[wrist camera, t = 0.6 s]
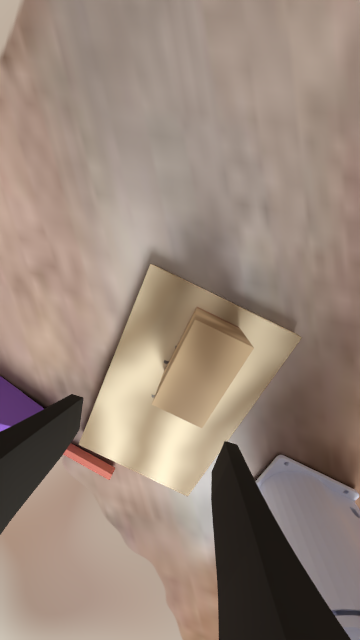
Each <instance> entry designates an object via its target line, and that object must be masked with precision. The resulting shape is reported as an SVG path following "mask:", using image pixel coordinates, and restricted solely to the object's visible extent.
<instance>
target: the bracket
mask: <svg viewBox="0 0 360 640" xmlns="http://www.w3.org/2000/svg"><path fill="white" fill-rule="evenodd" d="M43 409H44V408H42V407H41V406H40V405H38V404H37V403H36V402H34V401H33V400H32V399H30V398H29V397H28V396H26V395H25V394H24V393H22V392H21V391H20V390H18V389H17V388H16V387H14V386H13V385H12V384H10V383H9V382H8V381H6V380H5V379H4V378H2V377H1V376H0V432H1V431H3V430H5V429H7V428H9V427H11V426H13V425H15V424H17V423H19V422H21V421H23V420H24V419H26V418H28V417H30V416H32V415H34V414H36V413H38V412H40V411H42V410H43Z"/></svg>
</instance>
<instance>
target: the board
mask: <svg viewBox="0 0 360 640" xmlns="http://www.w3.org/2000/svg"><path fill="white" fill-rule="evenodd" d="M196 307H199V308H201V309H203V310H205V311H207V312H209V313H211V314H213V315H215V316H217V317H219V318H221V319H224V320H226V321H228V322H230V323H232V324H234V325H236V326H238V327H239V328H240V329H241V330H242V332H243V333H244V335H245V336H246V337H247V339H248V340H249V342H250V343H251V344H252V346H253V347H254V349H253V350H252V352H251V353H250V355H249V357H248V358H247V360H246V361H245V363H244V364H243V366H242V367H241V369H240V370H239V372H238V374H237V375H236V377H235V378H234V380H233V381H232V383H231V384H230V386H229V388H228V389H227V391H226V392H225V394H224V395H223V397H222V398H221V400H220V401H219V403H218V405H217V406H216V408H215V409H214V411H213V412H212V414H211V415H210V417H209V419H208V420H207V422H206V423H205V425H204V426H203V428H200V427H198V426H196V425H194V424H191V423H189V422H187V421H185V420H183V419H181V418H179V417H177V416H175V415H173V414H171V413H168V412H166V411H164V410H162V409H160V408H158V407H156V406H154V405H152V402H153V399H154V397H155V394H156V391H157V389H158V386H159V383H160V381H161V378H162V375H163V373H164V370H165V368H166V366H167V364H168V362H169V360H170V358H171V356H172V355H173V353H174V351H175V349H176V347H177V345H178V343H179V341H180V339H181V337H182V335H183V333H184V331H185V329H186V327H187V325H188V323H189V321H190V319H191V317H192V315H193V313H194V311H195V309H196ZM301 338H302V337H300V336H299V335H297V334H295V333H294V332H292V331H290V330H287V329H285V328H283V327H281V326H279V325H277V324H275V323H273V322H271V321H269V320H267V319H265V318H263V317H261V316H259V315H257V314H255V313H252V312H250V311H248V310H246V309H244V308H242V307H240V306H238V305H236V304H234V303H232V302H230V301H228V300H226V299H224V298H222V297H220V296H217V295H215V294H213V293H211V292H209V291H207V290H205V289H203V288H201V287H199V286H197V285H195V284H193V283H191V282H189V281H187V280H185V279H182V278H180V277H178V276H176V275H174V274H172V273H170V272H168V271H166V270H164V269H162V268H160V267H158V266H156V265H153V264H150V266H149V269H148V271H147V274H146V276H145V279H144V281H143V284H142V286H141V289H140V291H139V294H138V296H137V299H136V301H135V304H134V306H133V309H132V311H131V314H130V316H129V319H128V322H127V324H126V327H125V329H124V332H123V334H122V337H121V339H120V342H119V344H118V347H117V349H116V352H115V354H114V357H113V359H112V362H111V364H110V367H109V369H108V372H107V374H106V377H105V380H104V382H103V385H102V387H101V390H100V392H99V395H98V397H97V400H96V402H95V405H94V407H93V410H92V412H91V415H90V417H89V420H88V422H87V425H86V427H85V430H84V433H83V435H82V438H81V440H80V443H79V445H80V446H82V447H84V448H87V449H89V450H91V451H93V452H95V453H97V454H99V455H101V456H103V457H106V458H108V459H110V460H112V461H114V462H116V463H118V464H120V465H122V466H124V467H127V468H129V469H131V470H133V471H135V472H137V473H139V474H141V475H143V476H146V477H148V478H150V479H152V480H154V481H156V482H158V483H160V484H162V485H165V486H167V487H169V488H171V489H173V490H175V491H177V492H179V493H181V494H184V495H186V496H188V495H189V494H190V492H191V491H192V490H193V488H194V487H195V486H196V484H197V483H198V481H199V480H200V479H201V477H202V476H203V474H204V473H205V472H206V470H207V469H208V467H209V466H210V465H211V463H212V462H213V461H214V459H215V458H216V456H217V455H218V454H219V452H220V451H221V449H222V446H223V444H224V441H226V442H227V441H228V440H229V438H230V437H231V435H232V434H233V433H234V431H235V430H236V429H237V427H238V426H239V424H240V423H241V422H242V420H243V419H244V417H245V416H246V415H247V413H248V412H249V410H250V409H251V408H252V406H253V405H254V404H255V402H256V401H257V399H258V398H259V397H260V395H261V394H262V392H263V391H264V390H265V388H266V387H267V385H268V384H269V383H270V381H271V380H272V378H273V377H274V376H275V374H276V373H277V372H278V370H279V369H280V367H281V366H282V365H283V363H284V362H285V360H286V359H287V358H288V356H289V355H290V353H291V352H292V351H293V349H294V348H295V347H296V345H297V344H298V342H299V341H300V340H301Z"/></svg>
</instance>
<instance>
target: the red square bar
mask: <svg viewBox="0 0 360 640" xmlns="http://www.w3.org/2000/svg"><path fill="white" fill-rule="evenodd" d="M64 455H65V456H67V457H69V458H71V459H73V460H74V461H76V462H78V463H80V464H81V465H83V466H85V467H87V468H89V469H90V470H92V471H94V472H96V473H98V474H99V475H101V476H103V477H105V478H107V479H108V480H110V478H111V476H112V474H113V472H114V470H115V467H113V466H111V465H109V464H107V463H106V462H104V461H102V460H100V459H98V458H97V457H95V456H93V455H91V454H89V453H88V452H86V451H84V450H82V449H80V448H79V447H77V446H75V445H73V444H71V443H70V445H69V446H68V448H67V449H66V451H65V452H64Z"/></svg>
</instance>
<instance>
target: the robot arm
mask: <svg viewBox="0 0 360 640" xmlns="http://www.w3.org/2000/svg"><path fill="white" fill-rule="evenodd" d="M82 405H83V397H79V396H76V395H73V394H71V395H70V396H68V397H66V398H64V399H62V400H60V401H58V402H56V403H55V404H53V405H51V406H49V407H47V408H45V409H43V410H42V411H40V412H38V413H36V414H34V415H32V416H30V417H28V418H26V419H24V420H23V421H21V422H19V423H17V424H15V425H13V426H11V427H9V428H7V429H5V430H3V431H1V432H0V534H1V533H2V532H3V530H4V529H5V527H6V526H7V525H8V523H9V522H10V521H11V519H12V518H13V517H14V515H15V514H16V512H17V511H18V510H19V509H20V508H21V506H22V505H23V504H24V503H25V501H26V500H27V499H28V498H29V496H30V495H31V494H32V493H33V491H34V490H35V489H36V488H37V486H38V485H39V484H40V483H41V481H42V480H43V479H44V478H45V476H46V475H47V474H48V473H49V471H50V470H51V469H52V468H53V466H54V465H55V464H56V462H57V461H58V460H59V459H60V457H61V456H62V455H63V454H64V452H65V451H66V449H67V448H68V446H69V445H70V443H71V442H72V440H73V439H74V437H75V436H76V434H77V432H78V431H79V428H80V420H81V412H82ZM358 497H359V494H358V492H357V491H356V490H355V489H353V488H351V487H348V486H346V485H344V484H342V483H340V482H338V481H336V480H334V479H332V478H330V477H328V476H325V475H323V474H321V473H319V472H317V471H315V470H313V469H311V468H309V467H307V466H305V465H303V464H300V463H298V462H296V461H294V460H292V459H290V458H288V457H286V456H284V455H278V456H277V457H276V458H275V459H274V460H273V462H272V463H271V464H270V465H269V466H268V467H267V469H266V470H265V471H264V472H263V473H262V474H261V476H260V477H259V478H258V479H257V480H256V481H255V480H254V478H253V476H252V474H251V472H250V470H249V468H248V466H247V464H246V462H245V460H244V458H243V456H242V454H241V452H240V450H239V448H238V446H237V445H236V444H233V443H229V442H226V441H224V444H223V446H222V449H221V451H220V453H219V456H218V458H217V460H216V463H215V465H214V468H213V470H212V493H211V500H212V515H213V529H214V542H215V556H216V569H217V584H218V610H219V640H360V509H359V507H358V506H357V505H356V503H355V502H354V501H355V500H356V499H357V498H358Z"/></svg>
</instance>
